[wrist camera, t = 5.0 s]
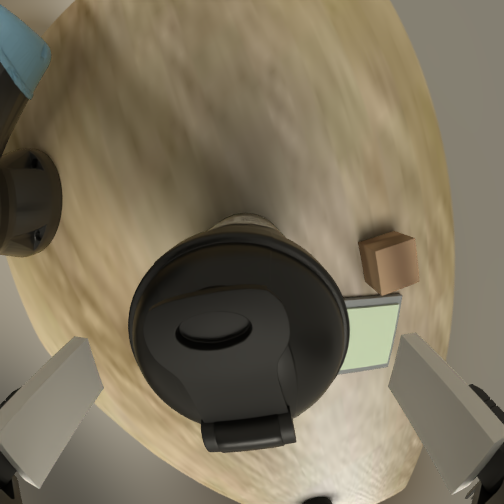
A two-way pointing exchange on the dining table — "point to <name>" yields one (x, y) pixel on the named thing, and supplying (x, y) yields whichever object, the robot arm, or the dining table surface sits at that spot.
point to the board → (371, 331)
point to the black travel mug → (239, 332)
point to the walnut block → (389, 262)
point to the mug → (318, 501)
